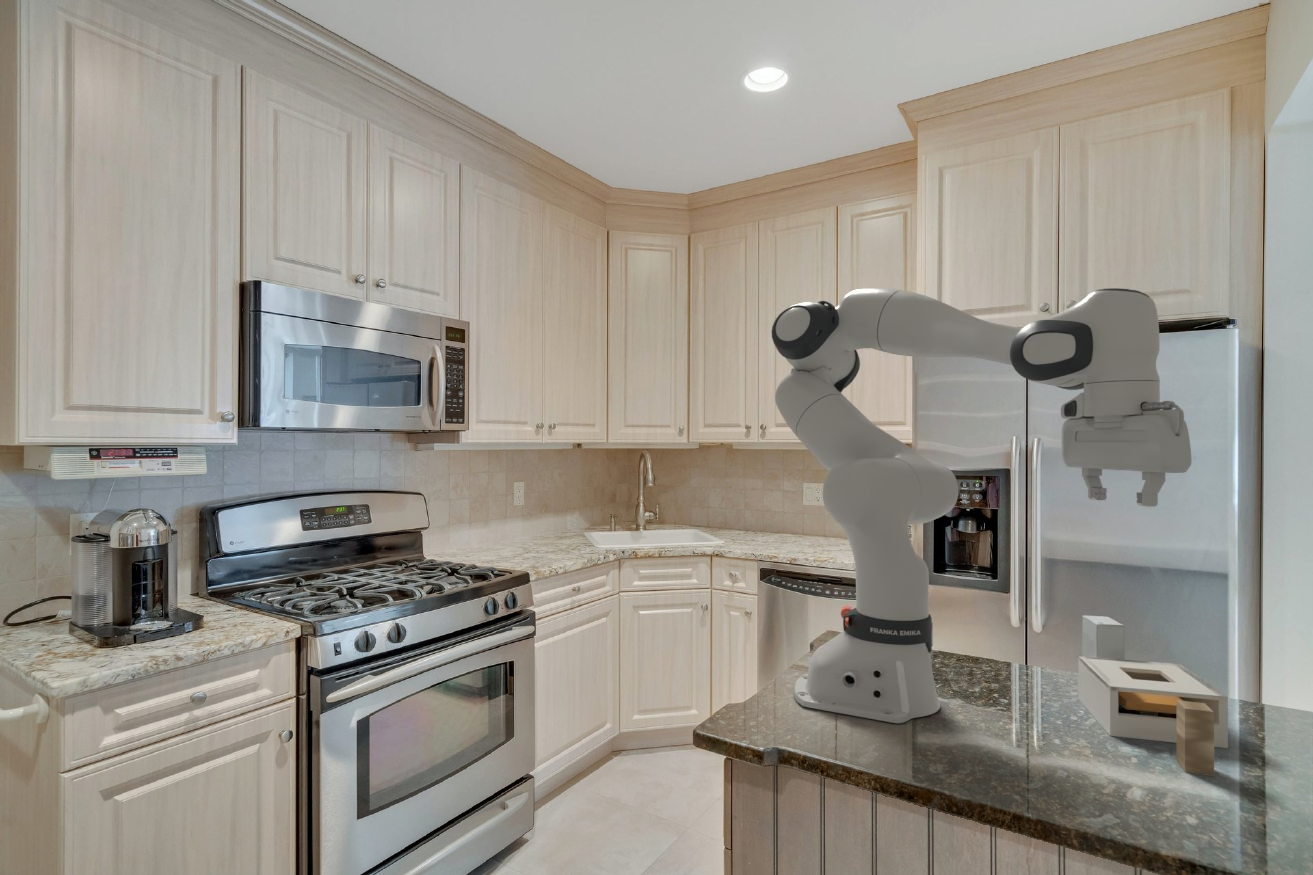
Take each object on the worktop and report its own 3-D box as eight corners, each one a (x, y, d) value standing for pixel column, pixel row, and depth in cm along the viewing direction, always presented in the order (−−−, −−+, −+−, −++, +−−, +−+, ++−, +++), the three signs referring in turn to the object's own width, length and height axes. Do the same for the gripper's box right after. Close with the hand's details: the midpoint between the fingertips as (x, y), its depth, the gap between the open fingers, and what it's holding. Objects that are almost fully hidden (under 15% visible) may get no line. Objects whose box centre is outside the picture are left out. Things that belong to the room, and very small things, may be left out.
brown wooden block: (1184, 771, 86) (1184, 708, 86) (1176, 761, 89) (1176, 699, 89) (1214, 775, 85) (1214, 711, 85) (1204, 765, 88) (1204, 703, 88)
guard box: (1110, 735, 96) (1110, 686, 96) (1078, 699, 110) (1078, 656, 110) (1227, 748, 92) (1227, 696, 93) (1180, 708, 106) (1180, 664, 106)
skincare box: (1125, 699, 110) (1125, 625, 110) (1096, 697, 111) (1096, 624, 111) (1108, 686, 116) (1108, 615, 116) (1081, 684, 117) (1080, 614, 117)
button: (1126, 720, 98) (1126, 700, 98) (1106, 699, 106) (1106, 681, 106) (1191, 726, 96) (1191, 706, 96) (1166, 705, 104) (1166, 687, 104)
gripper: (1206, 399, 85) (1206, 510, 85) (1092, 407, 106) (1092, 496, 105) (1157, 399, 85) (1158, 510, 85) (1053, 407, 105) (1053, 496, 105)
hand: (1120, 502), depth 95 cm, fingers open, 8 cm apart
